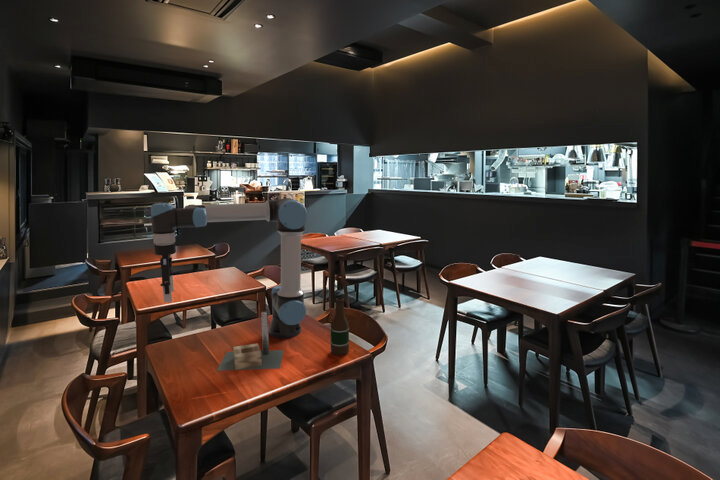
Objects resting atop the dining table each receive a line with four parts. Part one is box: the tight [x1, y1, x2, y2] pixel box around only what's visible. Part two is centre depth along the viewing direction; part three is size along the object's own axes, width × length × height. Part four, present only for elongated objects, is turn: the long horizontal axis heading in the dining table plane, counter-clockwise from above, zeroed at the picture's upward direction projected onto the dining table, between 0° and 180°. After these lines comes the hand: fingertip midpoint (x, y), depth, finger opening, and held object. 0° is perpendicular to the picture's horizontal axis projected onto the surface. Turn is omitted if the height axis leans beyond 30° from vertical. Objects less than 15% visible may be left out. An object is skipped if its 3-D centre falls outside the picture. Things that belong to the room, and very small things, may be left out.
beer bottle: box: [330, 297, 350, 357], centre depth 167 cm, size 8×8×24 cm
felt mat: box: [216, 349, 285, 372], centre depth 161 cm, size 24×16×1 cm, turn 95°
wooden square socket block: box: [232, 343, 262, 371], centre depth 159 cm, size 10×10×5 cm
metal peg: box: [260, 311, 270, 355], centre depth 165 cm, size 3×3×18 cm
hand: (169, 296), depth 155 cm, fingers open, 13 cm apart
